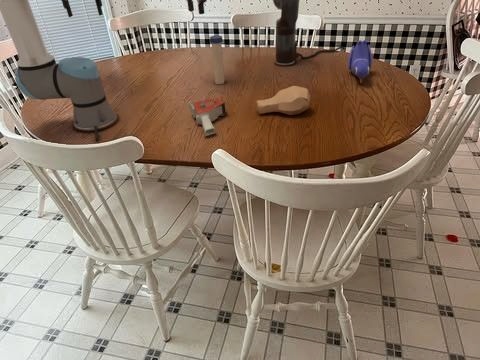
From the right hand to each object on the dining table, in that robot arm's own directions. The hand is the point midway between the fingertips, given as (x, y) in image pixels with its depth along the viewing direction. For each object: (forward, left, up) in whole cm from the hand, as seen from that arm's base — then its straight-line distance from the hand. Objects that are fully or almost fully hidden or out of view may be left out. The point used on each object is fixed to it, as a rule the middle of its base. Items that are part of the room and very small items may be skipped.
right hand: (196, 12), depth 144 cm
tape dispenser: (+19, +35, -29) cm, 50 cm away
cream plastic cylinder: (-5, +5, -29) cm, 30 cm away
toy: (-54, +43, -29) cm, 75 cm away
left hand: (+34, -39, -1) cm, 52 cm away
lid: (-5, +5, -10) cm, 12 cm away
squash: (-7, +47, -29) cm, 56 cm away
